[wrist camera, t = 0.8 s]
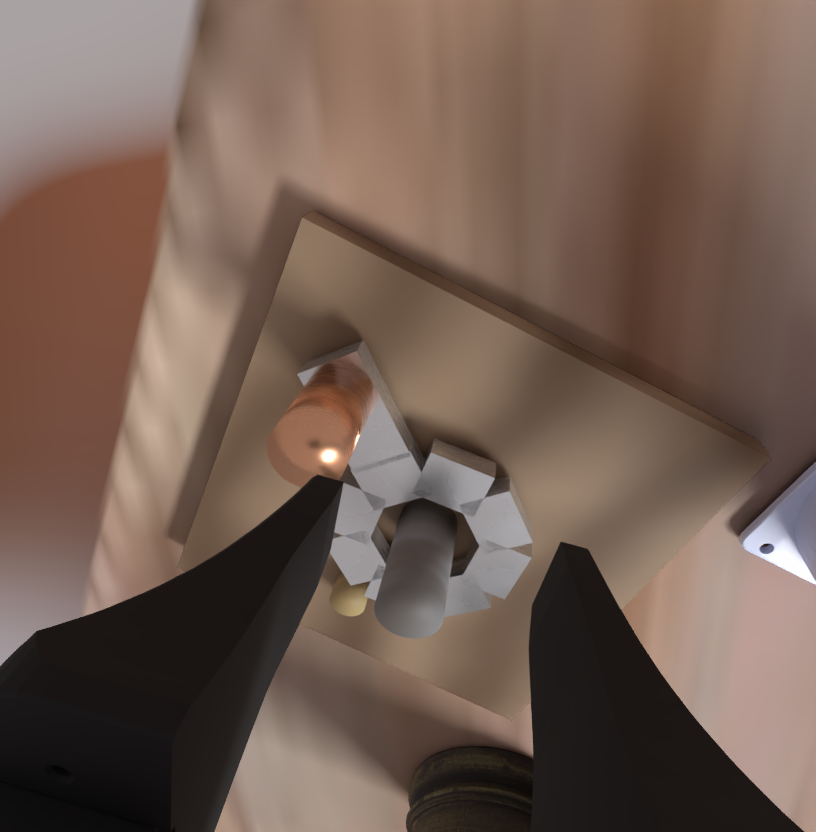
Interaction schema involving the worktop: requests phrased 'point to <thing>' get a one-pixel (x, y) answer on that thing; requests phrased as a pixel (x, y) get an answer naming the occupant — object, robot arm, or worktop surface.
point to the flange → (395, 479)
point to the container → (472, 792)
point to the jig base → (478, 434)
